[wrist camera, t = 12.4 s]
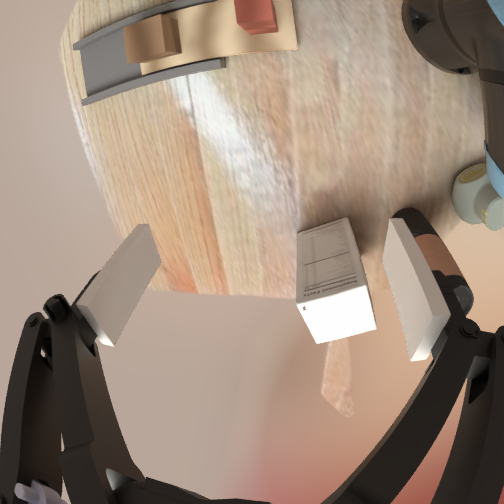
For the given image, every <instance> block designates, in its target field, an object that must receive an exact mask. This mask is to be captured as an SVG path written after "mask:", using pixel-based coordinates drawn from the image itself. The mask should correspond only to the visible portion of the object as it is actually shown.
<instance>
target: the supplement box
mask: <svg viewBox="0 0 504 504" xmlns="http://www.w3.org/2000/svg"><path fill="white" fill-rule="evenodd" d="M296 305H297V307H298V309H299V311H300V313H301V315H302V316H303V318H304V320H305V322H306V324H307V326H308V328H309V330H310V332H311V334H312V336H313V338H314V340H315V341H316V343H317V344H319V343H323V342H327V341H332V340H336V339H340V338H344V337H348V336H352V335H356V334H359V333H363V332H367V331H370V330H374V329H377V327H376V320H375V315H374V310H373V305H372V300H371V295H370V291H369V286H368V282H367V278H366V274H365V270H364V267H363V263H362V260H361V256H360V253H359V250H358V246H357V243H356V240H355V237H354V234H353V231H352V228H351V225H350V222H349V219H348V217H345V218H342V219H339V220H336V221H332V222H329V223H326V224H323V225H320V226H317V227H314V228H311V229H308V230H305V231H302V232H299V233H297V285H296Z"/></svg>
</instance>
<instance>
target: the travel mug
mask: <svg viewBox="0 0 504 504" xmlns="http://www.w3.org/2000/svg"><path fill="white" fill-rule="evenodd" d="M392 218H403V220H404V222H405V223H406V225H407V227H408V229H409V230H410V232H411V234H412V236H413V237H414V239H415V241H416V243H417V245H418V246H419V248H420V250H421V252H422V254H423V256H424V258H425V260H426V262H427V264H428V266H429V268H430V270H440V271H441V272H442V273H443V274H444V275H445V276H446V277H447V278H448V280H449V282H450V284H451V287H452V288H453V290H454V292H455V293H454V294H456V296H457V298H458V301H459V303H460V305H461V307H462V309H463V312H464V314H465V316H466V315H467V314H468V313H469V311H470V310H471V308H472V305H473V301H474V298H473V293H472V291H471V289H470V287H469V286H468V284H467V282H466V280H465V278H464V276H463V274H462V273H461V271H460V269H459V267H458V266H457V264H456V262H455V260H454V259H453V257H452V255H451V254H450V252H449V250H448V249H447V247H446V246H445V244H444V242H443V241H442V239H441V238H440V237H439V235H438V234H437V232H436V231H435V230H434V228H433V227H432V226H431V224H430V223H429V222H428V221H427V219H426V218H425V217H424V216H423V214H422V213H421V212H420V211H418V210H417V209H414V208H405V209H402V210H400V211H398V212H397V213H396V214H395V215H394V216H393V217H392Z"/></svg>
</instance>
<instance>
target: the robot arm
mask: <svg viewBox="0 0 504 504" xmlns="http://www.w3.org/2000/svg"><path fill="white" fill-rule="evenodd" d="M402 20H403V24H404V28H405V30H406V33H407V35H408V37H409V39H410V41H411V42H412V44H413V45H414V47H415V48H416V50H417V51H418V52H419V53H420V54H421V55H422V56H423V57H424V58H425V59H426V60H427V61H428V62H429V63H431V64H432V65H433V66H435V67H436V68H438V69H440V70H442V71H445V72H448V73H452V74H459V75H469V74H473V73H476V72H478V71H479V76H480V84H481V91H482V100H483V110H484V125H485V140H484V148H485V152H486V170H487V175H488V178H489V180H490V181H491V184H492V186H493V188H494V189H495V190H496V192H497V193H498V194H499V195H500V196H501V197H502V198H503V199H504V0H404V2H403V6H402ZM161 262H162V261H161V258H160V256H159V253H158V250H157V247H156V244H155V241H154V238H153V235H152V232H151V229H150V226H149V224H138V225H137V226H136V227H135V229H134V230H133V231H132V232H131V233H130V234H129V236H128V237H127V238H126V239H125V240H124V242H123V243H122V244H121V245H120V247H119V248H118V249H117V250H116V251H115V253H114V254H113V255H112V257H111V258H110V259H109V260H108V262H107V263H106V264H105V266H104V267H103V268H102V269H101V270H100V271H99V272H97V273H96V274H95V275H94V276H93V277H92V278H91V279H90V281H89V282H88V284H87V285H86V286H85V287H84V290H82V291H81V293H80V294H79V295H78V297H77V298H76V300H75V301H74V302H73V304H72V305H71V306H70V305H69V303H68V302H67V300H66V299H65V297H64V295H62V294H57V295H54V296H52V297H51V298H49V299H48V300H47V301H46V303H45V304H44V307H43V310H44V311H45V313H46V314H47V315H48V317H49V319H45V318H44V316H43V315H42V313H40V312H36V313H34V314H31V315H30V316H29V318H28V319H27V320H26V322H25V325H24V328H23V331H22V334H21V337H20V341H19V344H18V348H17V351H16V355H15V359H14V363H13V367H12V371H11V376H10V380H9V385H8V391H7V396H6V402H5V408H4V415H3V423H2V434H1V446H0V447H1V448H0V504H67V502H66V501H64V500H62V499H61V495H62V483H63V480H64V483H65V486H66V490H67V493H68V496H69V499H70V502H71V504H272V503H270V502H263V501H252V500H244V499H237V498H236V499H218V500H210V499H208V498H206V497H204V496H201V495H199V494H197V493H195V492H191V491H188V490H186V489H183V488H180V487H177V486H174V485H171V484H168V483H164V482H161V481H157V480H154V479H151V478H148V477H146V479H145V477H144V476H143V474H142V472H141V471H140V470H139V468H138V467H137V466H136V465H135V464H134V462H133V461H132V459H131V457H130V454H129V452H128V449H127V447H126V444H125V441H124V439H123V436H122V433H121V430H120V428H119V424H118V422H117V419H116V416H115V412H114V409H113V406H112V403H111V399H110V396H109V392H108V389H107V385H106V381H105V377H104V374H103V369H102V365H101V361H100V356H99V352H98V347H97V344H96V343H95V339H96V337H98V338H99V339H100V341H101V342H102V344H106V345H110V346H115V344H116V342H117V340H118V338H119V336H120V334H121V332H122V331H123V329H124V327H125V325H126V323H127V321H128V320H129V318H130V316H131V314H132V312H133V310H134V309H135V307H136V305H137V303H138V301H139V300H140V298H141V296H142V295H143V293H144V291H145V289H146V288H147V286H148V284H149V283H150V281H151V279H152V277H153V276H154V274H155V272H156V271H157V269H158V267H159V266H160V264H161ZM382 263H383V266H384V269H385V272H386V275H387V278H388V281H389V284H390V287H391V290H392V294H393V296H394V300H395V304H396V307H397V310H398V314H399V318H400V321H401V325H402V329H403V333H404V337H405V341H406V345H407V349H408V353H409V357H410V361H417V360H425V359H426V358H427V357H428V355H429V354H430V352H432V355H433V361H432V362H431V364H430V365H429V366H428V368H427V370H426V371H425V375H424V376H423V378H422V380H421V381H420V383H419V385H418V386H417V388H416V390H415V391H414V393H413V395H412V396H411V398H410V399H409V401H408V402H407V404H406V405H405V407H404V408H403V410H402V411H401V413H400V414H399V416H398V417H397V418H396V420H395V421H394V423H393V424H392V426H391V427H390V428H389V430H388V431H387V432H386V434H385V435H384V436H383V437H382V439H381V440H380V441H379V443H378V444H377V445H376V446H375V448H374V449H373V450H372V451H371V453H370V454H369V455H368V456H367V457H366V458H365V460H364V461H363V462H362V463H361V464H360V465H359V467H358V468H357V469H356V470H355V471H354V472H353V473H352V474H351V475H350V476H349V477H348V479H347V480H346V481H345V482H344V483H343V484H342V485H341V486H340V487H339V488H338V489H337V490H336V491H335V492H334V493H332V494H331V495H330V496H329V497H328V498H327V499H325V500H324V501H323V502H322V503H321V504H390V503H391V502H392V501H393V500H394V498H395V497H396V496H397V495H398V494H399V492H400V491H401V490H402V488H403V487H404V486H405V485H406V483H407V482H408V480H409V479H410V478H411V476H412V475H413V474H414V472H415V471H416V469H417V468H418V466H419V465H420V463H421V462H422V460H423V459H424V457H425V456H426V454H427V453H428V451H429V450H430V448H431V446H432V445H433V443H434V441H435V440H436V438H437V436H438V434H439V433H440V431H441V429H442V427H443V425H444V424H445V422H446V420H447V418H448V416H449V414H450V412H451V410H452V408H453V406H454V404H455V402H456V400H457V398H458V395H459V393H460V391H461V389H462V387H463V384H464V382H465V380H466V378H467V386H466V392H465V397H464V402H463V407H462V411H461V416H460V420H459V424H458V428H457V432H456V436H455V439H454V443H453V446H452V449H451V452H450V456H449V459H448V462H447V464H446V467H445V470H444V473H443V475H442V478H441V480H440V483H439V486H438V488H437V490H436V493H435V495H434V497H433V499H432V502H431V504H498V501H499V498H500V495H501V492H502V488H503V486H504V326H501V327H499V328H498V330H497V331H496V333H490V332H484V331H480V328H479V326H478V325H477V324H476V323H475V322H474V321H473V320H471V319H468V318H466V316H465V314H464V312H463V309H462V307H461V305H460V303H459V301H458V298H457V296H456V294H454V293H455V292H454V290H453V288H452V287H451V284H450V282H449V280H448V278H447V277H446V276H445V275H444V274H443V273H442V272H441V271H440V270H430V268H429V266H428V264H427V262H426V260H425V258H424V256H423V254H422V252H421V250H420V248H419V246H418V245H417V243H416V241H415V239H414V237H413V236H412V234H411V232H410V230H409V229H408V227H407V225H406V223H405V222H404V220H403V218H389V224H388V230H387V236H386V242H385V248H384V253H383V259H382ZM41 349H42V350H43V351H44V353H45V357H43V356H42V355H41ZM61 433H62V438H63V443H64V451H62V452H61ZM62 476H63V480H62Z"/></svg>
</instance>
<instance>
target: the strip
mask: <svg viewBox="0 0 504 504" xmlns="http://www.w3.org/2000/svg"><path fill="white" fill-rule="evenodd" d="M164 15H165V16H168V17H171V18H174V19H176V20H178V27H179V35H180V42H181V49H182V53H181V54H177V55H173V56H169V57H166V58H162V59H159V60H155V61H152V62H148V63H140V66H141V72H142V75H146V74H150V73H153V72H157V71H160V70H164V69H168V68H172V67H176V66H180V65H184V64H189V63H193V62H198V61H203V60H208V59H214V58H220V57H226V56H233V55H240V54H248V53H257V52H268V51H282V50H298V48H297V39H296V31H295V23H294V16H293V9H292V2H291V0H220V1H215V2H210V3H205V4H201V5H197V6H192V7H188V8H185V9H181V10H177V11H174V12H170V13H167V14H164Z"/></svg>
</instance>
